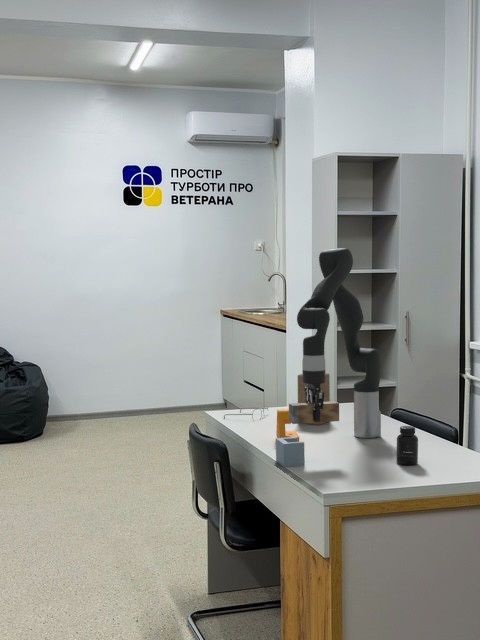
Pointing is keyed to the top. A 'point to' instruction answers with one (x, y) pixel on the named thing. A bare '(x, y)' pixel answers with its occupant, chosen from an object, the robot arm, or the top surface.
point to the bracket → (281, 421)
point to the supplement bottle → (407, 446)
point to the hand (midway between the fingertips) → (314, 419)
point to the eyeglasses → (248, 414)
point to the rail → (305, 412)
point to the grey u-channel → (290, 452)
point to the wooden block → (324, 387)
